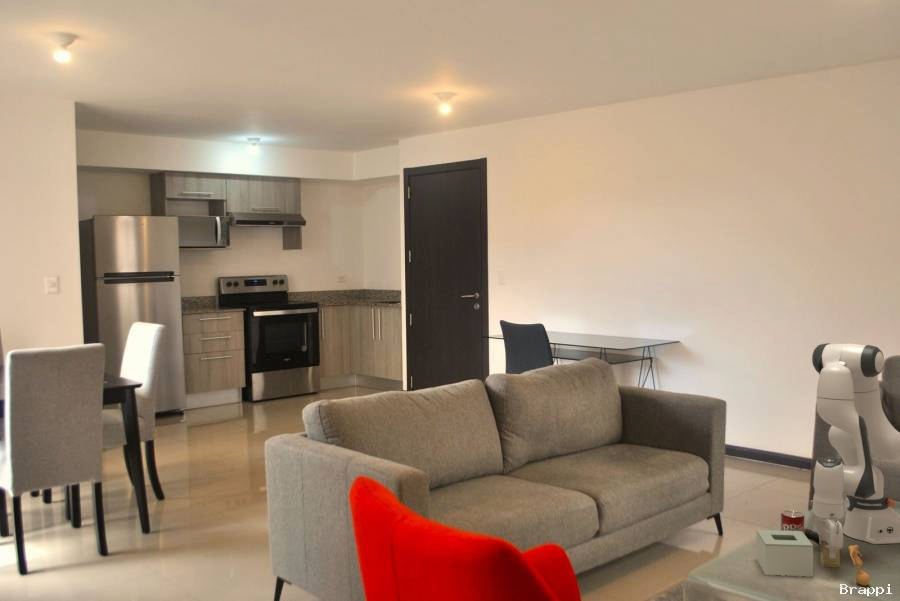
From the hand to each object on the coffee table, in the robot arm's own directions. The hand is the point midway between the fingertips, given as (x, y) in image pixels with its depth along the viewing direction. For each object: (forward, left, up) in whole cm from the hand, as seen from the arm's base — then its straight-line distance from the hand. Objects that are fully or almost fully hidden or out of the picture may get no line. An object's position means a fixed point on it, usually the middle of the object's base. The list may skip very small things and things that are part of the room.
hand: (827, 551), depth 252 cm
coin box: (+14, +4, -4) cm, 15 cm away
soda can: (+7, -13, -5) cm, 16 cm away
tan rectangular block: (-1, 0, -4) cm, 4 cm away
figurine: (-5, +14, -5) cm, 15 cm away
